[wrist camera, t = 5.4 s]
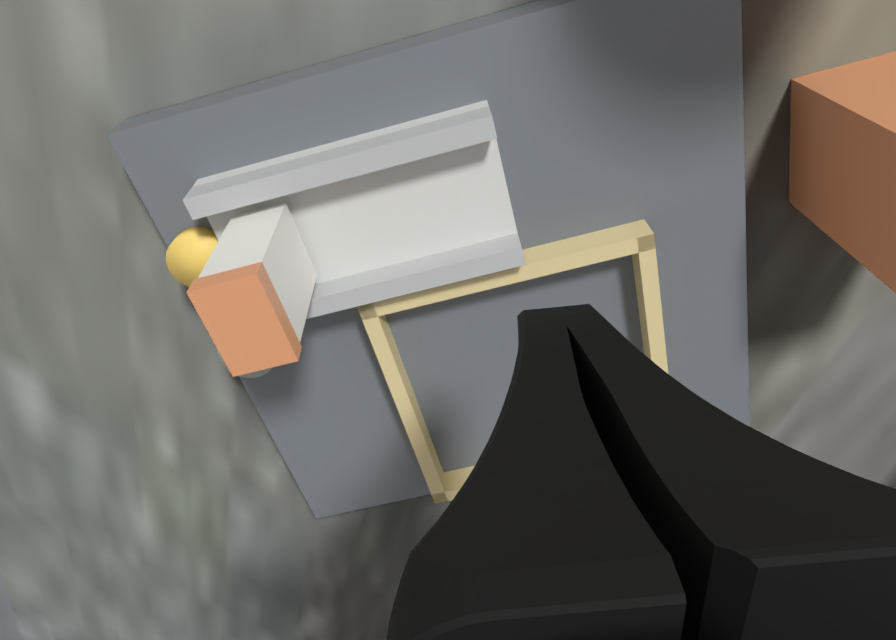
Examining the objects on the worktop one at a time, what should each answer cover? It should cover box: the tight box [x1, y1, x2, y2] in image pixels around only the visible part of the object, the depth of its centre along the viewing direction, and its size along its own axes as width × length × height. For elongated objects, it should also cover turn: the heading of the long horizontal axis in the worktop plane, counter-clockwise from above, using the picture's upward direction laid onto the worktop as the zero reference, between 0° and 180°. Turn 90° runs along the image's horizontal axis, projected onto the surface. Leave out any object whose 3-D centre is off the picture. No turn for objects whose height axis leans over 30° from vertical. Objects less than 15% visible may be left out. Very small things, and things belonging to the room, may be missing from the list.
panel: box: [107, 0, 750, 519], centre depth 22 cm, size 16×17×3 cm
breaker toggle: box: [186, 202, 317, 377], centre depth 18 cm, size 2×2×4 cm
